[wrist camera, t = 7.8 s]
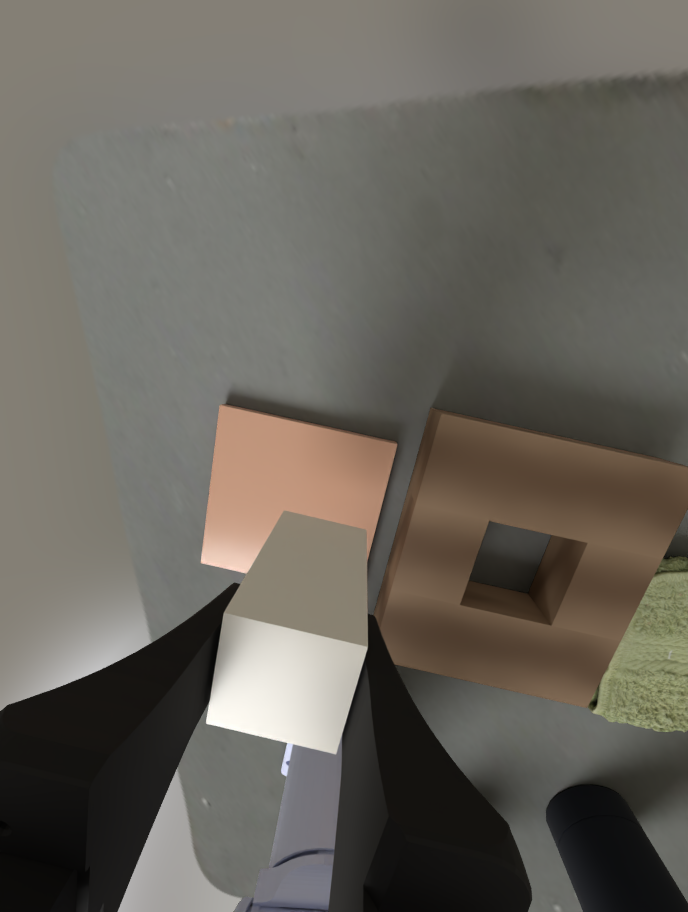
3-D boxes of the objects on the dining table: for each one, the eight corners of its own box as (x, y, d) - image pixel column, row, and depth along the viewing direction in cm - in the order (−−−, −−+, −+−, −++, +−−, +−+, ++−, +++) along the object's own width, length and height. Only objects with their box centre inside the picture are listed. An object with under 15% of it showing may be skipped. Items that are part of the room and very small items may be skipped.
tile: (357, 591, 24) (357, 598, 23) (206, 556, 24) (200, 562, 23) (396, 441, 21) (397, 444, 20) (225, 403, 21) (219, 404, 20)
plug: (347, 600, 17) (335, 754, 10) (270, 582, 17) (206, 723, 10) (366, 529, 16) (367, 646, 9) (284, 510, 16) (223, 612, 9)
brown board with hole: (560, 667, 24) (586, 707, 21) (370, 624, 24) (371, 658, 21) (657, 457, 20) (706, 471, 17) (430, 407, 20) (441, 413, 18)
